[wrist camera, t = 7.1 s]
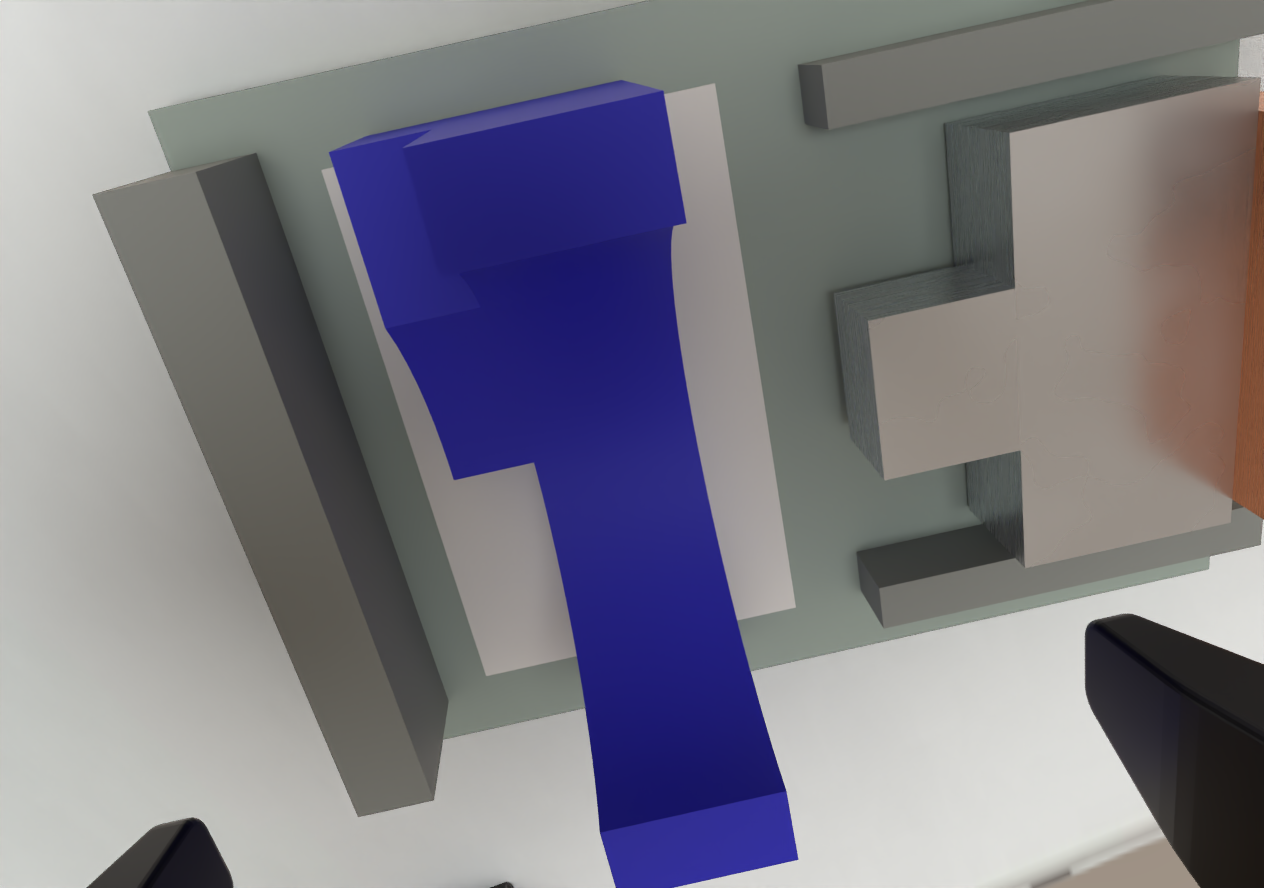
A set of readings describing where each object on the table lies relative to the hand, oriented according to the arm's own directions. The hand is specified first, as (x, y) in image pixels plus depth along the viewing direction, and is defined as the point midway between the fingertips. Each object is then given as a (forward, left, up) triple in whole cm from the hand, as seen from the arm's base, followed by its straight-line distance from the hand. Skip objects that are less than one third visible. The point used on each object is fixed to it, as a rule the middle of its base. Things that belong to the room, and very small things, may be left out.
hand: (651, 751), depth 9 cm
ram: (-9, 0, -10) cm, 13 cm away
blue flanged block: (+1, 0, -10) cm, 10 cm away
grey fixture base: (-3, 0, -11) cm, 11 cm away
